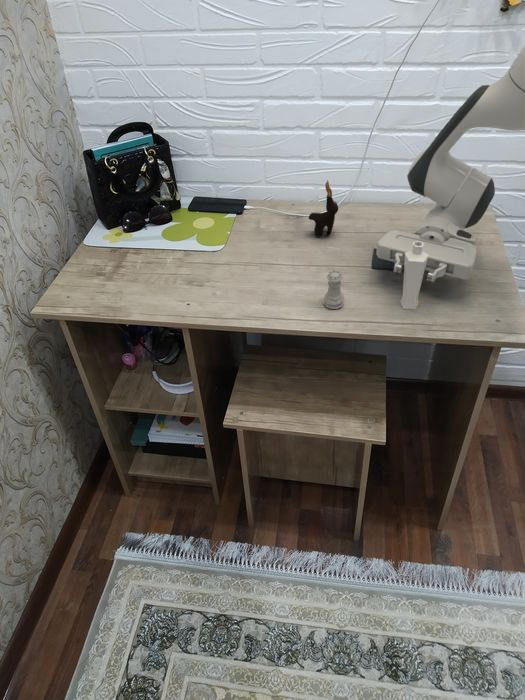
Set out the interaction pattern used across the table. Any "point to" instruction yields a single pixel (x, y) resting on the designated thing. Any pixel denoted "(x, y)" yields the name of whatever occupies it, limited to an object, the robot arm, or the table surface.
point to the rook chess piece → (334, 291)
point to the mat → (381, 263)
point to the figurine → (325, 215)
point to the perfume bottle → (413, 275)
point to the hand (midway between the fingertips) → (413, 274)
